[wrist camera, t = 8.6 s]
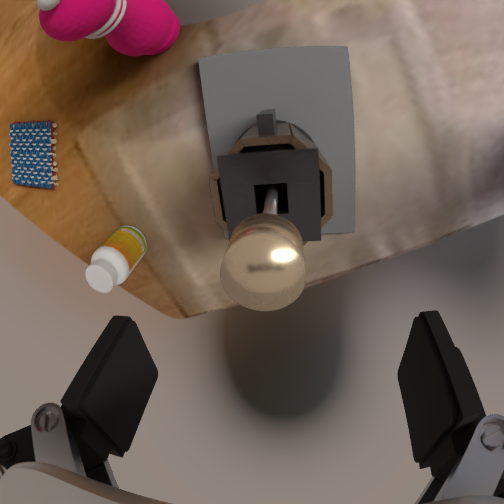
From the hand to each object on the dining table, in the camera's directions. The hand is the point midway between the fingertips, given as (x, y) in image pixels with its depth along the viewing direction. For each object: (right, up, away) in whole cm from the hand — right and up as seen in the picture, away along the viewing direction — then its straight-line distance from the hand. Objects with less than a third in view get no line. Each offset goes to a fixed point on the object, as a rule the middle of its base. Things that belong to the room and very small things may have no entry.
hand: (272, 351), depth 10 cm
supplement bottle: (-18, +5, +32) cm, 37 cm away
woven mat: (-33, +18, +27) cm, 46 cm away
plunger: (+2, +12, +22) cm, 25 cm away
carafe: (+2, +13, +23) cm, 27 cm away
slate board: (+3, +15, +23) cm, 28 cm away
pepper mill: (-12, +29, +18) cm, 36 cm away
